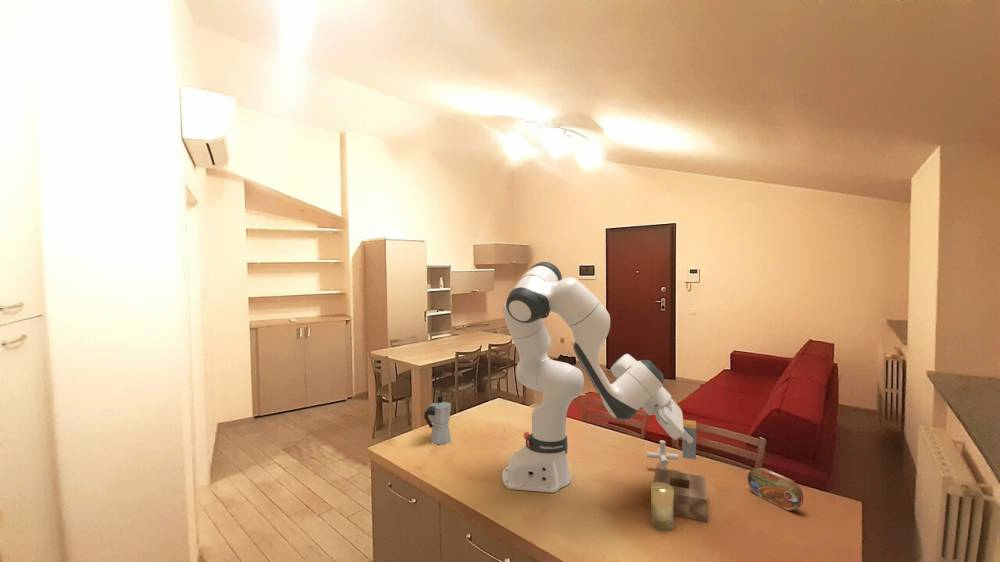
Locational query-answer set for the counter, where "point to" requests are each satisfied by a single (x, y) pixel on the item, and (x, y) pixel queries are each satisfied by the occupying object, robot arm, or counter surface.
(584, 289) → the robot arm
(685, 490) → the bore block
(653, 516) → the yellow candle
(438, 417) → the coffee maker
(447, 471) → the counter surface
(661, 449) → the pipe connector
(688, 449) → the square bit
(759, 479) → the tin
